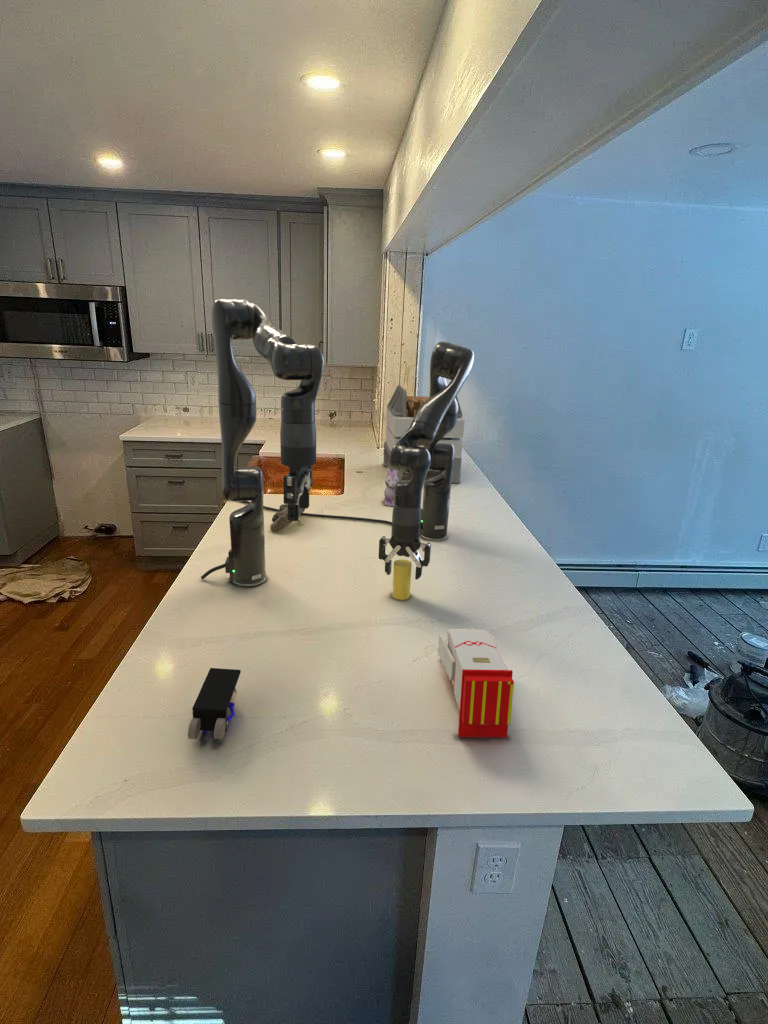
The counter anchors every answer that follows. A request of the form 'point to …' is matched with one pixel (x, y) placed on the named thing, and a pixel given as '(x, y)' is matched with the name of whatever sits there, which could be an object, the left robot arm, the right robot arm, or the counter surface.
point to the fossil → (283, 518)
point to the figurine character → (214, 704)
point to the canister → (401, 579)
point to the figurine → (390, 487)
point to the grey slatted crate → (400, 420)
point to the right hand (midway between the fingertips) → (403, 576)
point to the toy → (478, 682)
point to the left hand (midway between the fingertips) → (299, 513)
